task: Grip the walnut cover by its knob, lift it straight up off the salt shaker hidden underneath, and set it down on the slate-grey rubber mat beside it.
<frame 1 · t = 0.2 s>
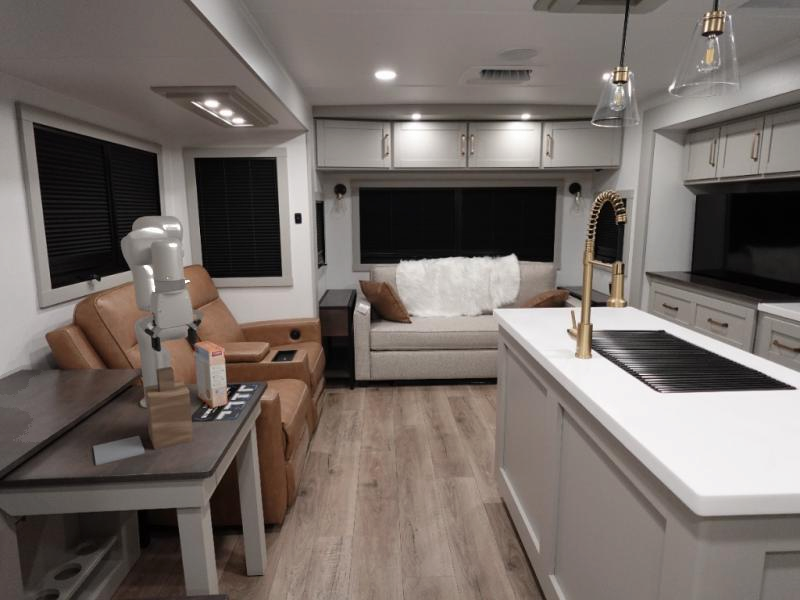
hand: (175, 346, 138), 31 cm above the table, tool pointing down, fingers open, 9 cm apart
slate mat: (118, 450, 144), on the table
salt shaker: (171, 438, 152), on the table
walnut cover: (171, 438, 151), on the table
cracker box: (213, 401, 180), on the table
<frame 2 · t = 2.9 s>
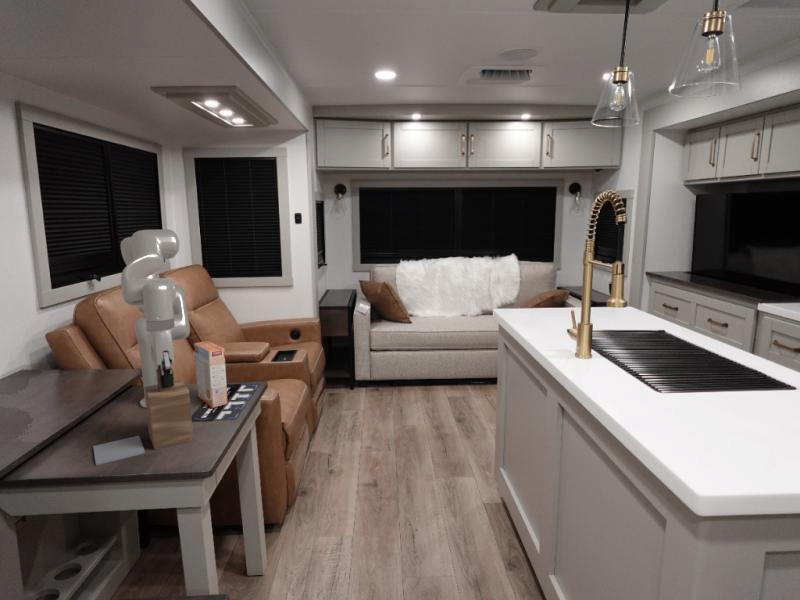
hand: (166, 383, 148), 17 cm above the table, tool pointing down, fingers closed on walnut cover, 4 cm apart
walnut cover: (171, 438, 151), on the table, touching gripper
everything else where it was.
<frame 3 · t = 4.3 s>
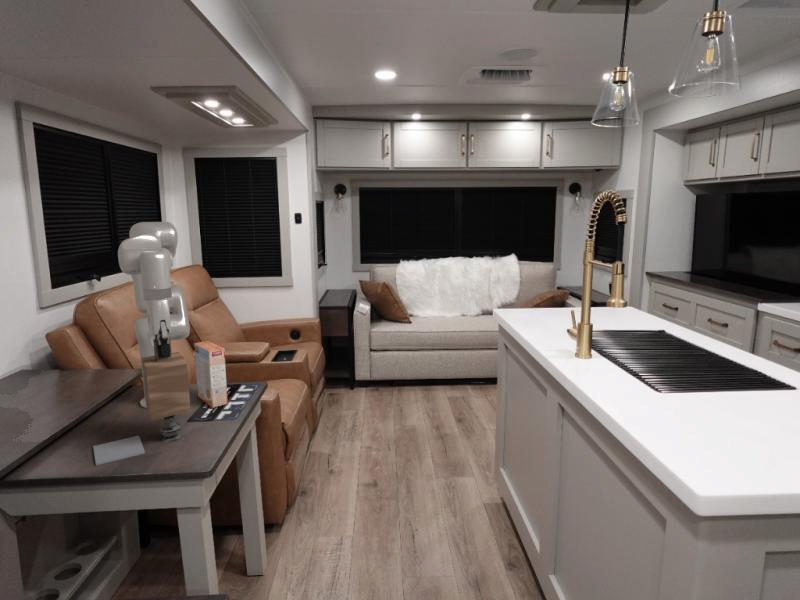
hand: (163, 354, 147), 26 cm above the table, tool pointing down, fingers closed on walnut cover, 4 cm apart
walnut cover: (168, 409, 150), point 9 cm above the table, touching gripper
everything else where it was.
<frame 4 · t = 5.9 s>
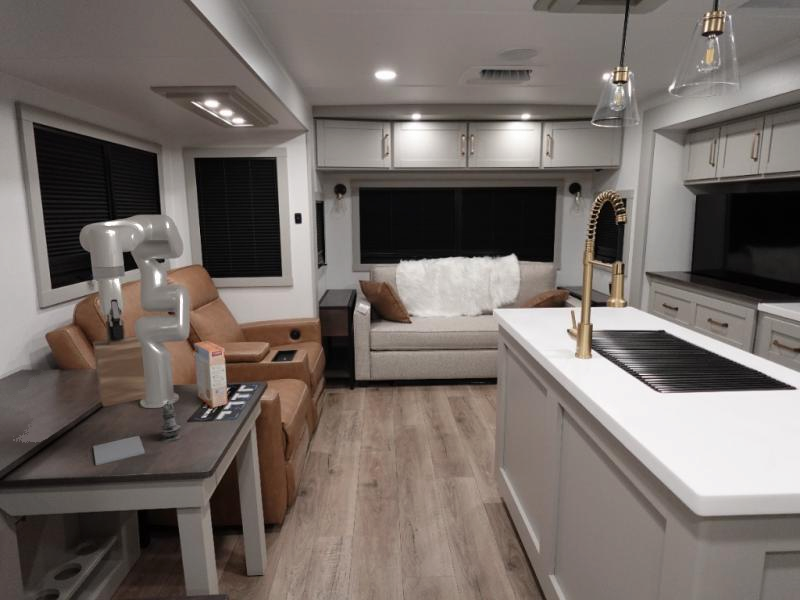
hand: (116, 337, 139), 33 cm above the table, tool pointing down, fingers closed on walnut cover, 4 cm apart
walnut cover: (122, 396, 142), point 16 cm above the table, touching gripper
everything else where it was.
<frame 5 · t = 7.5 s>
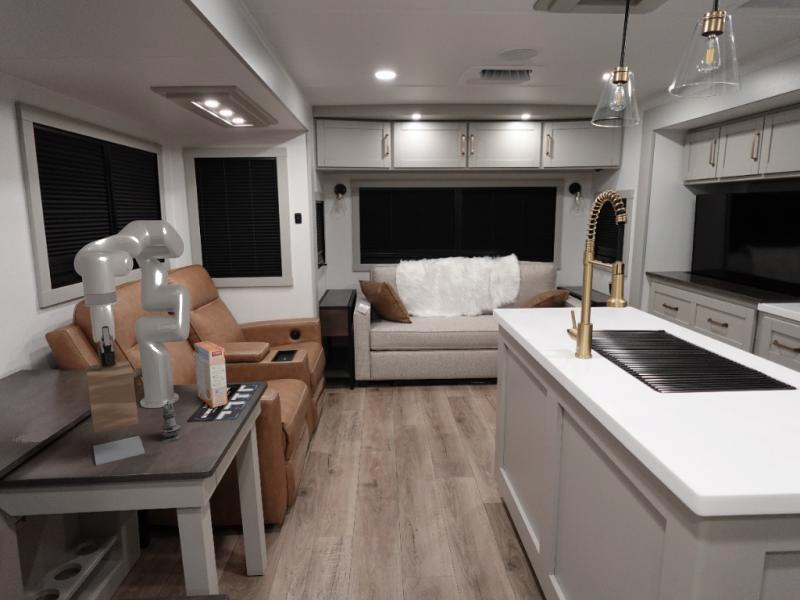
hand: (108, 363, 139), 26 cm above the table, tool pointing down, fingers closed on walnut cover, 4 cm apart
walnut cover: (115, 421, 142), point 9 cm above the table, touching gripper
everything else where it was.
when the fingers open (19 cm above the table, at t = 9.1 s): walnut cover drops 1 cm, resting on slate mat.
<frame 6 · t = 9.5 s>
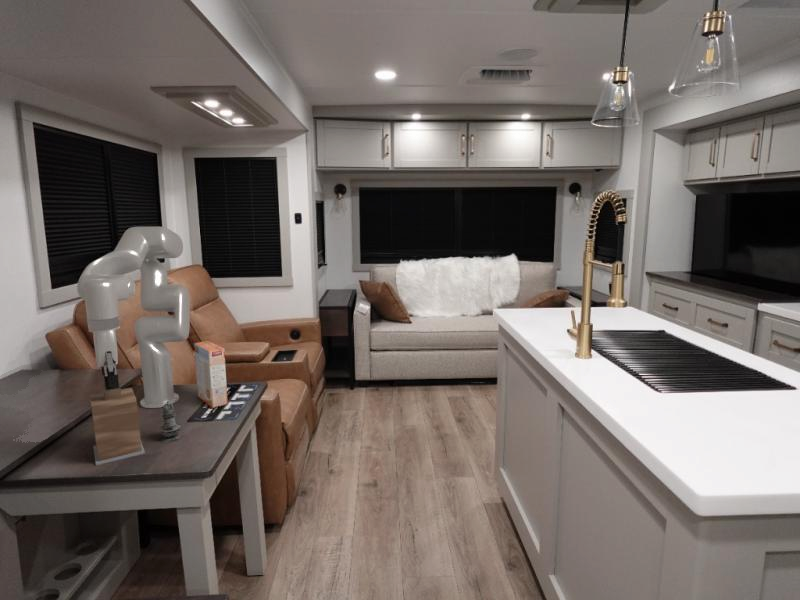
hand: (111, 383, 140), 20 cm above the table, tool pointing down, fingers open, 8 cm apart
walnut cover: (118, 448, 144), point 1 cm above the table, touching slate mat
everything else where it was.
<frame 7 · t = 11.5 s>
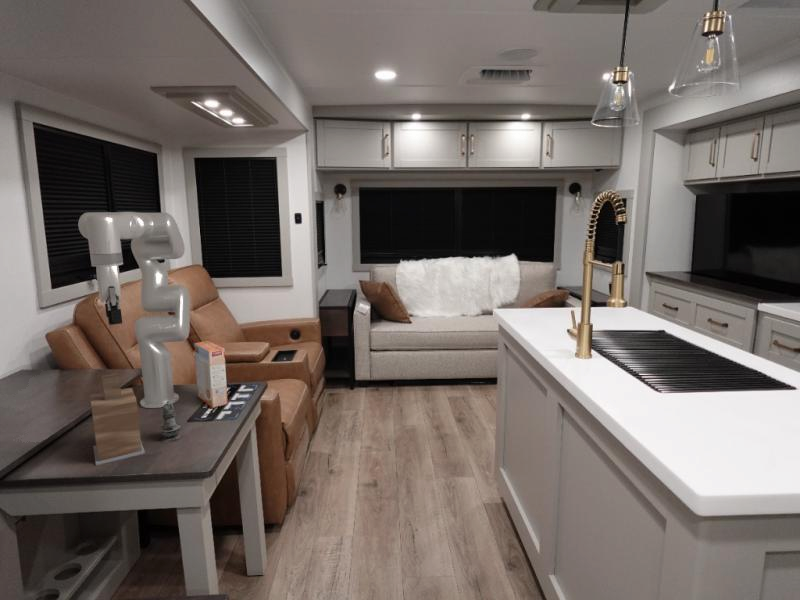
hand: (114, 320, 140), 38 cm above the table, tool pointing down, fingers open, 9 cm apart
nothing on the table moved.
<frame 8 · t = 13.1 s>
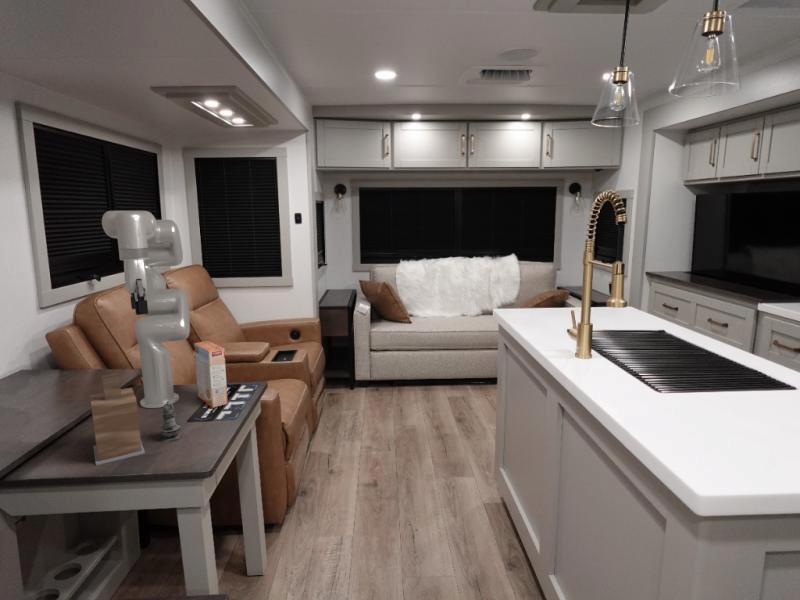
hand: (139, 311, 149), 38 cm above the table, tool pointing down, fingers open, 9 cm apart
nothing on the table moved.
at the end: walnut cover inside the target area (0.1 cm from its centre), point 0.6 cm above the table; walnut cover tilted 0°; the gripper is holding nothing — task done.
